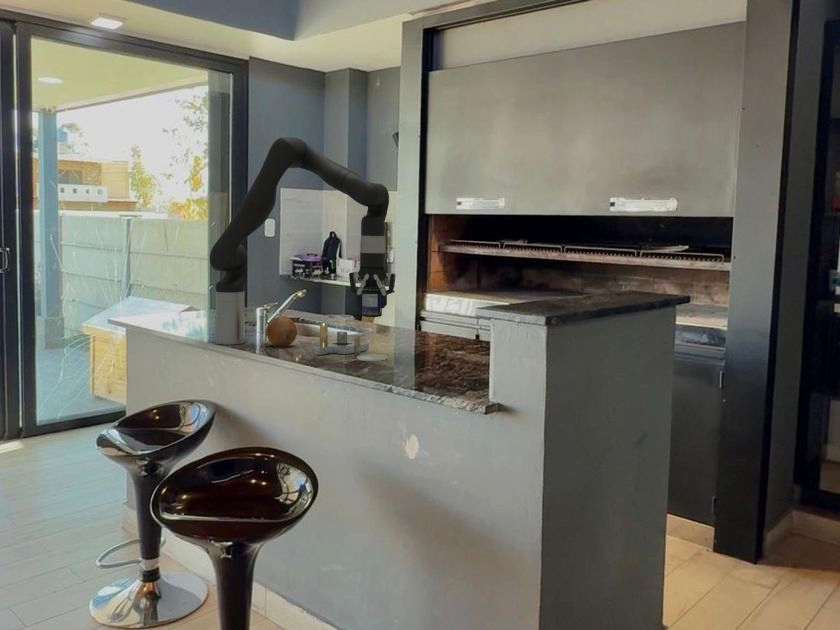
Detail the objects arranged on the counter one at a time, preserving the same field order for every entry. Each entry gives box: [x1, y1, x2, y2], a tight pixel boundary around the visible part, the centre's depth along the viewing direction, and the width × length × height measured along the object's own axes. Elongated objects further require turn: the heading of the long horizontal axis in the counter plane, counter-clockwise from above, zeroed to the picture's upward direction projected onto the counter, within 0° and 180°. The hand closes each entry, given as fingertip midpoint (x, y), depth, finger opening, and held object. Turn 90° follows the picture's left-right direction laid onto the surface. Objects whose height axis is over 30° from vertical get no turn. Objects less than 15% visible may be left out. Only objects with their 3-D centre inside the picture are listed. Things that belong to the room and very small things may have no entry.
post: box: [336, 331, 348, 345], centre depth 244 cm, size 3×3×6 cm
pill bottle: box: [361, 280, 383, 318], centre depth 229 cm, size 6×6×11 cm
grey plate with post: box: [313, 322, 370, 356], centre depth 242 cm, size 18×12×9 cm
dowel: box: [353, 335, 361, 357], centre depth 235 cm, size 2×2×6 cm
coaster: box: [356, 353, 388, 362], centre depth 231 cm, size 9×9×1 cm
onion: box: [266, 315, 298, 348], centre depth 251 cm, size 10×10×10 cm
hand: (372, 307), depth 229 cm, fingers closed on pill bottle, 6 cm apart
